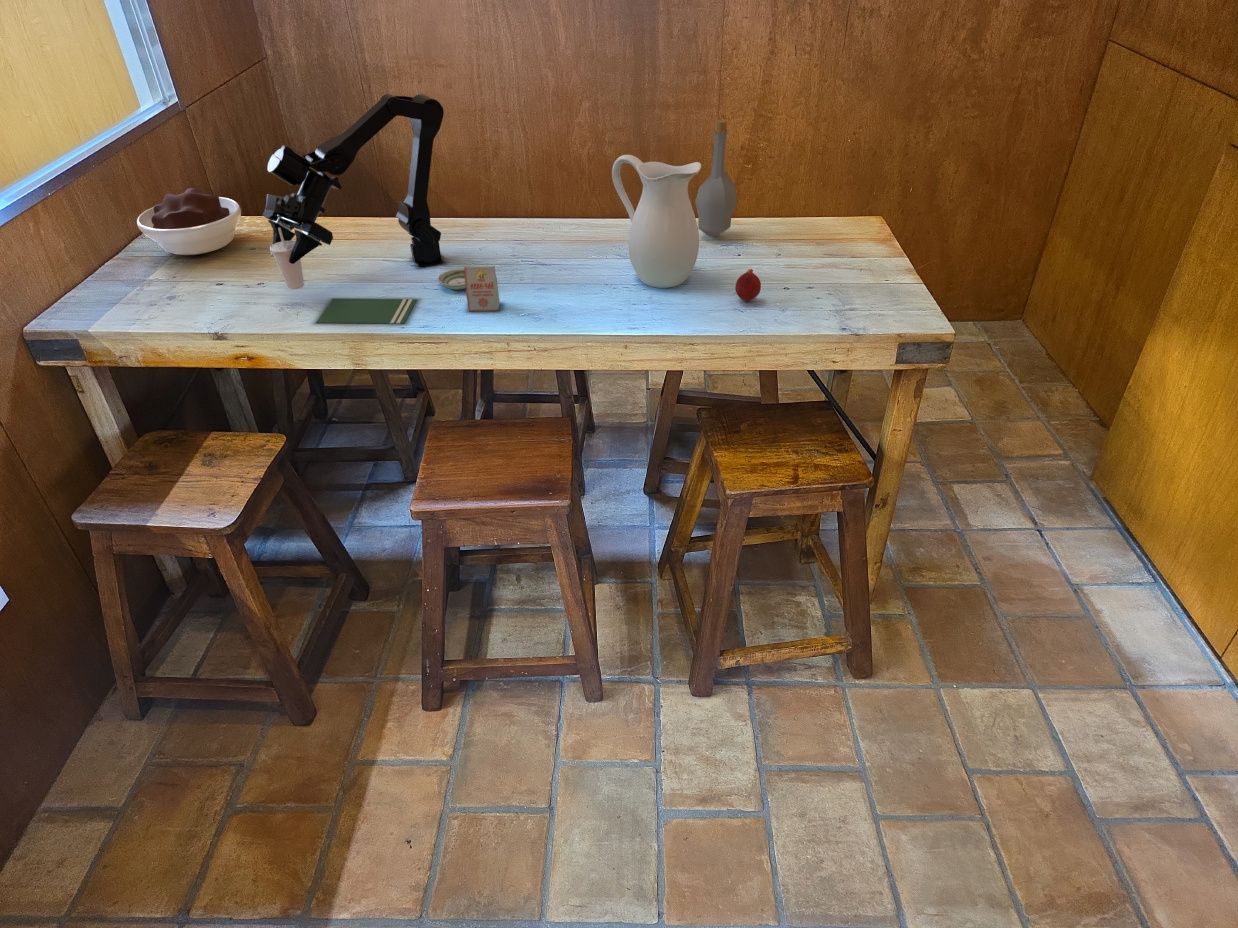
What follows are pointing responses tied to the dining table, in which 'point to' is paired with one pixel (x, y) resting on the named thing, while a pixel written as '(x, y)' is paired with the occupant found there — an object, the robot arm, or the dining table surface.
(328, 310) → the cloth
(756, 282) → the onion
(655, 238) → the pitcher
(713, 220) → the bottle
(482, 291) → the tan food box
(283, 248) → the smoothie
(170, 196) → the bowl of brown food
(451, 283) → the saucer
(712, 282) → the dining table surface
